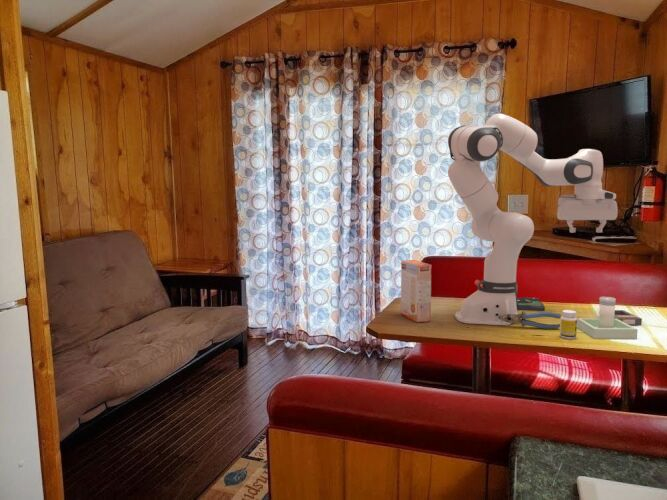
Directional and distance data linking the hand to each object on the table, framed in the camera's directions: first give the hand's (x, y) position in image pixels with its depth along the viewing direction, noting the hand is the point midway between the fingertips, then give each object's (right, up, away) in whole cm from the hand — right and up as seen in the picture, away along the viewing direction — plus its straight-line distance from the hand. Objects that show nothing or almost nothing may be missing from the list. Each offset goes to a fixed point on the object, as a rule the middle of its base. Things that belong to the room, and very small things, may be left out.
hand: (585, 232), depth 182 cm
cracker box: (-62, -32, +3) cm, 70 cm away
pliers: (-26, -33, -12) cm, 44 cm away
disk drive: (-14, -30, +19) cm, 38 cm away
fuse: (-3, -33, -19) cm, 38 cm away
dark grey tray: (+10, -32, -5) cm, 34 cm away
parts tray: (-3, -34, -19) cm, 39 cm away
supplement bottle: (-17, -34, -23) cm, 45 cm away
